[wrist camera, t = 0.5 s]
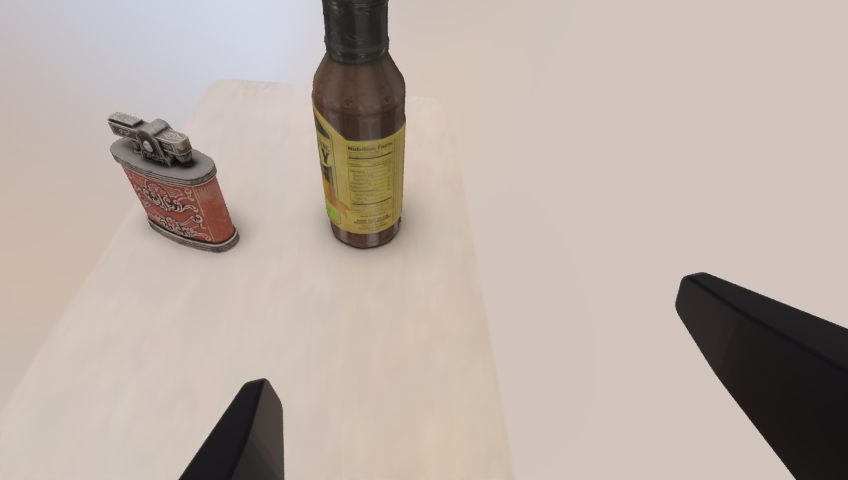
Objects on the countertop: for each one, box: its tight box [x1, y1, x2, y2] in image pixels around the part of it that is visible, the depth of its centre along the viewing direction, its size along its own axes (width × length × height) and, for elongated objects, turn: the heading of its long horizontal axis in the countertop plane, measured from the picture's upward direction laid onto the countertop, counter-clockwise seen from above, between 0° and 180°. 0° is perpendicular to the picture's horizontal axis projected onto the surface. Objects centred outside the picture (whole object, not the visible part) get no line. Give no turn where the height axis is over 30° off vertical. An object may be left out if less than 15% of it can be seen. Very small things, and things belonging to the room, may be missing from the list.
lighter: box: [107, 112, 239, 253], centre depth 32 cm, size 8×3×10 cm, turn 68°
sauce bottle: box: [312, 0, 406, 248], centre depth 30 cm, size 6×6×20 cm
